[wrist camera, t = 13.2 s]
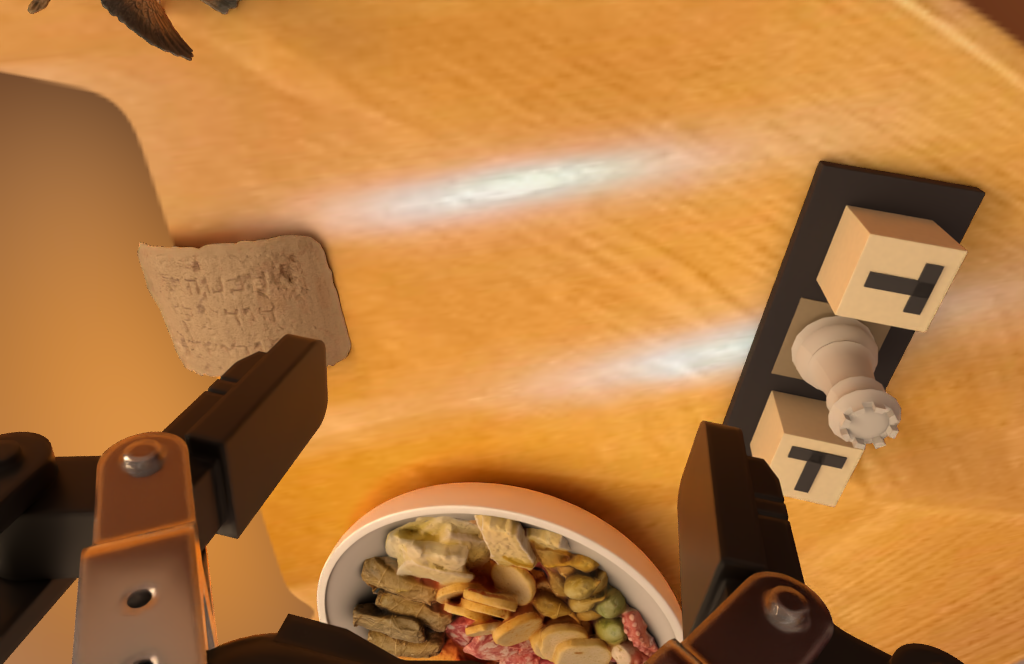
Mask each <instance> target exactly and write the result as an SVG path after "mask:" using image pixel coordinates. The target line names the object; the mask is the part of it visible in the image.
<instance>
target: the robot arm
mask: <svg viewBox="0 0 1024 664" xmlns="http://www.w3.org/2000/svg"><path fill="white" fill-rule="evenodd" d="M327 402H328V392H327V366H326V348H325V344H324V342H323V341H322V340H317V339H312V338H307V337H303V336H298V335H293V334H286V335H284V336H283V337H282V338H281V339H280V340H279V341H278V342H277V343H276V344H275V345H274V346H273V347H272V348H271V349H270V350H269V351H268V352H267V353H266V352H261V351H258V352H256V353H254V354H252V355H249V356H247V357H245V358H243V359H241V360H239V361H237V362H236V363H234V364H233V365H232V366H231V367H230V368H229V369H228V370H227V371H226V372H225V373H224V374H223V375H222V376H221V379H217V380H216V381H215V382H214V383H213V384H212V385H211V386H210V387H209V389H208V391H205V392H204V393H203V394H202V395H201V396H199V397H198V398H197V399H196V400H195V401H194V402H193V403H192V404H191V405H190V406H189V407H188V408H187V409H186V410H185V411H184V412H183V413H181V414H180V415H179V416H178V417H177V418H176V419H175V420H174V421H173V422H172V423H171V424H170V425H169V426H168V427H167V428H166V429H164V431H162V432H147V433H141V434H137V435H133V436H130V437H127V438H125V439H123V440H121V441H119V442H117V443H115V444H114V445H112V446H111V447H110V448H108V449H107V450H106V451H105V452H104V453H103V455H102V456H76V457H55V456H54V452H53V450H52V447H51V443H50V442H49V440H48V439H47V438H45V437H44V436H42V435H40V434H36V433H30V432H14V433H7V434H1V435H0V664H3V663H4V662H5V660H7V658H8V657H9V656H10V655H11V654H12V653H13V651H14V650H15V649H16V648H17V647H18V645H19V644H20V643H21V642H22V641H23V640H24V639H25V637H26V636H27V635H28V634H29V633H30V632H31V630H32V629H33V628H34V627H35V626H36V625H37V624H38V623H39V621H40V620H41V619H42V618H43V616H44V615H45V614H46V613H47V612H48V611H49V610H50V609H51V607H52V606H53V605H54V604H55V603H56V602H57V600H58V599H59V598H60V597H61V596H62V595H63V594H64V592H65V591H66V590H67V589H68V588H69V587H70V585H71V584H72V583H73V582H74V581H75V580H76V578H79V581H78V595H77V607H76V620H75V633H74V645H73V658H72V664H483V663H479V662H475V661H448V660H403V659H400V658H397V657H396V656H394V655H392V654H390V653H389V652H387V651H385V650H383V649H381V648H380V647H378V646H376V645H374V644H373V643H371V642H369V641H367V640H366V639H364V638H362V637H360V636H359V635H357V634H355V633H353V632H352V631H350V630H348V629H346V628H342V627H338V626H334V625H330V624H327V623H323V622H319V621H315V620H311V619H307V618H303V617H299V616H295V615H291V614H288V615H287V617H286V619H285V621H284V623H283V624H282V626H281V628H280V630H279V631H278V633H268V634H260V635H253V636H248V637H244V638H239V639H236V640H233V641H230V642H227V643H224V644H222V645H219V646H218V639H217V632H216V624H215V615H214V606H213V598H212V589H211V580H210V571H209V563H208V554H207V549H206V545H207V544H208V543H209V541H210V540H211V539H212V538H213V536H214V535H215V534H220V535H224V536H228V537H232V538H236V539H238V538H239V536H240V535H241V534H242V532H243V531H244V529H245V528H246V527H247V525H248V524H249V523H250V521H251V520H252V518H253V517H254V516H255V514H256V513H257V512H258V510H259V509H260V508H261V506H262V505H263V504H264V502H265V501H266V499H267V498H268V497H269V495H270V494H271V493H272V491H273V490H274V488H275V487H276V486H277V484H278V483H279V482H280V480H281V479H282V477H283V476H284V475H285V473H286V472H287V471H288V469H289V468H290V467H291V465H292V464H293V462H294V461H295V460H296V458H297V457H298V456H299V454H300V453H301V451H302V450H303V449H304V447H305V446H306V445H307V443H308V442H309V440H310V439H311V438H312V436H313V435H314V434H315V432H316V431H317V429H318V428H319V427H320V425H321V423H322V421H323V419H324V416H325V413H326V408H327ZM677 509H678V533H679V556H680V579H681V603H682V626H683V641H682V642H681V643H680V642H679V641H677V640H676V639H675V638H673V639H671V640H669V641H667V642H666V643H665V644H664V645H663V646H661V647H660V648H659V649H658V650H657V651H656V652H655V653H654V654H653V655H652V656H651V657H650V658H649V659H648V660H647V661H646V662H645V663H643V664H964V663H962V662H961V661H960V660H958V659H957V658H955V657H953V656H952V655H950V654H948V653H946V652H944V651H942V650H940V649H938V648H935V647H932V646H929V645H924V644H916V643H913V644H906V645H903V646H901V647H900V648H898V649H897V650H896V651H895V653H894V654H893V656H891V655H889V654H887V653H885V652H883V651H881V650H879V649H877V648H875V647H873V646H871V645H869V644H867V643H865V642H863V641H861V640H859V639H857V638H855V637H853V636H852V635H850V634H848V633H846V632H844V631H843V630H842V629H840V628H839V627H837V626H836V625H835V624H833V621H832V617H831V615H830V612H829V610H828V609H827V607H826V605H825V604H824V602H823V601H822V600H821V599H820V597H819V596H818V595H817V594H816V593H815V592H814V591H812V590H811V589H810V588H809V587H808V586H806V585H805V583H804V579H803V575H802V571H801V567H800V563H799V559H798V554H797V550H796V546H795V542H794V538H793V534H792V530H791V526H790V522H789V521H788V513H787V509H786V505H785V504H784V497H783V493H782V489H781V485H780V481H779V478H778V477H777V476H776V474H775V473H774V472H773V470H772V469H771V468H770V466H769V465H768V464H767V462H766V461H765V460H764V459H762V458H757V457H752V456H748V455H747V454H746V448H745V443H744V438H743V433H742V430H741V429H740V428H736V427H732V426H727V425H722V424H717V423H712V422H708V421H702V422H701V424H700V426H699V428H698V431H697V434H696V437H695V440H694V443H693V446H692V449H691V452H690V455H689V458H688V461H687V464H686V467H685V470H684V472H683V475H682V479H681V483H680V488H679V494H678V505H677Z"/></svg>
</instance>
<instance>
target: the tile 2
mask: <svg viewBox="0 0 1024 664" xmlns="http://www.w3.org/2000/svg"><path fill="white" fill-rule="evenodd" d="M967 252H968V251H967V250H966V249H965V248H963V247H962V246H961V245H960V244H959V243H958V242H957V241H955V240H954V239H953V238H952V237H951V236H950V235H949V234H948V233H946V232H945V231H944V230H943V229H942V228H941V227H940V226H938V225H937V224H936V223H935V222H934V221H933V220H928V219H922V218H917V217H911V216H905V215H900V214H894V213H888V212H883V211H877V210H871V209H866V208H860V207H854V206H849V205H846V207H845V210H844V212H843V215H842V217H841V219H840V222H839V224H838V227H837V229H836V232H835V234H834V237H833V239H832V242H831V244H830V247H829V249H828V252H827V254H826V257H825V259H824V262H823V264H822V267H821V269H820V272H819V274H818V277H817V279H816V280H817V282H818V284H819V286H820V287H821V289H822V291H823V293H824V295H825V297H826V299H827V301H828V302H829V304H830V306H831V308H832V310H833V312H834V314H835V315H838V316H843V317H848V318H853V319H858V320H864V321H869V322H874V323H879V324H884V325H889V326H895V327H900V328H905V329H910V330H915V331H920V332H926V331H927V329H928V327H929V325H930V323H931V321H932V319H933V318H934V316H935V314H936V312H937V310H938V308H939V306H940V304H941V302H942V300H943V298H944V296H945V295H946V293H947V291H948V289H949V287H950V285H951V283H952V281H953V279H954V277H955V275H956V273H957V272H958V270H959V268H960V266H961V264H962V262H963V260H964V258H965V256H966V254H967Z"/></svg>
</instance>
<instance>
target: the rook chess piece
mask: <svg viewBox="0 0 1024 664" xmlns="http://www.w3.org/2000/svg"><path fill="white" fill-rule="evenodd" d="M791 350H792V361H793V363H794V365H795V366H796V369H797V370H798V372H799V374H800V375H801V377H802V378H803V380H805V381H806V382H807V383H809V384H810V385H812V386H813V387H815V388H816V389H820V390H821V391H823V392H824V393H825V394H826V396H827V397H826V404H827V408H828V410H829V411H830V412H829V414H828V419H829V426H830V428H831V429H832V431H833V433H834V434H835V435H837V436H838V437H840V438H841V439H843V440H844V441H846V442H848V441H849V442H852V444H853V446H854V447H855V448H859V449H863V450H865V446H866V445H865V444H867V443H873V444H874V446H875V449H877V448H880V447H882V446H885V445H886V444H885V442H884V440H883V439H884V438H885V437H887V436H889V437H891V438H895V437H896V435H897V433H898V431H899V430H898V428H897V425H898V424H899V422H900V420H901V407H900V406H899V404H898V402H897V400H896V399H895V398H894V397H892V396H891V395H889V394H888V393H886V391H885V389H884V387H883V386H882V384H880V383H879V382H877V381H876V380H875V377H874V371H875V368H876V366H877V364H878V347H877V345H876V343H875V341H874V337H873V335H872V334H871V332H870V330H869V328H868V327H867V326H865V325H864V324H862V323H861V322H859V321H858V320H856V319H853V318H848V317H843V316H834V317H826V318H822V319H819V320H817V321H815V322H813V323H811V324H809V325H807V326H806V327H805V328H804V329H803V330H802V331H801V332H800V333H799V334H798V335H797V336H796V339H795V341H794V343H793V346H792V348H791Z"/></svg>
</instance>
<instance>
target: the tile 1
mask: <svg viewBox="0 0 1024 664" xmlns="http://www.w3.org/2000/svg"><path fill="white" fill-rule="evenodd" d="M829 412H830V411H829V410H828V408H827V404H826V401H821V400H816V399H811V398H807V397H802V396H797V395H792V394H787V393H782V392H778V391H773V390H772V391H771V393H770V396H769V398H768V401H767V403H766V406H765V408H764V411H763V413H762V416H761V418H760V421H759V423H758V426H757V428H756V431H755V433H754V436H753V438H752V441H751V443H750V447H751V452H752V457H757V458H762V459H764V460H765V461H766V462H767V464H768V465H769V466H770V468H771V469H772V470H773V472H774V473H775V474H776V476H777V477H778V478H779V481H780V485H781V489H782V493H783V496H787V497H791V498H796V499H800V500H805V501H809V502H814V503H818V504H823V505H827V506H831V507H835V505H836V504H837V502H838V500H839V498H840V496H841V494H842V492H843V490H844V488H845V486H846V484H847V482H848V481H849V479H850V477H851V475H852V473H853V471H854V469H855V467H856V465H857V463H858V461H859V459H860V458H861V456H862V454H863V452H864V450H863V449H859V448H855V447H854V446H853V444H852V442H849V441H848V442H846V441H844V440H843V439H841V438H840V437H838V436H837V435H835V434H834V433H833V431H832V429H831V428H830V426H829V419H828V414H829Z"/></svg>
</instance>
